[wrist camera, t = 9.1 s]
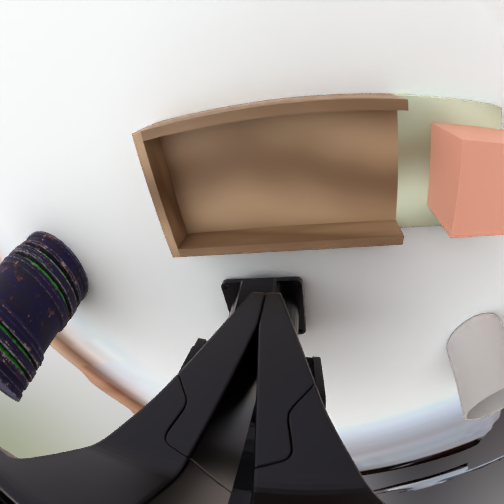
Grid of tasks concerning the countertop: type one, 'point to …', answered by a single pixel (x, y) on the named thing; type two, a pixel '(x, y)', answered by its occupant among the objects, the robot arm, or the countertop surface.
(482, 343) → the cup
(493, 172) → the block
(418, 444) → the countertop surface
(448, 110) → the wooden tray
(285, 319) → the robot arm
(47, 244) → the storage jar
